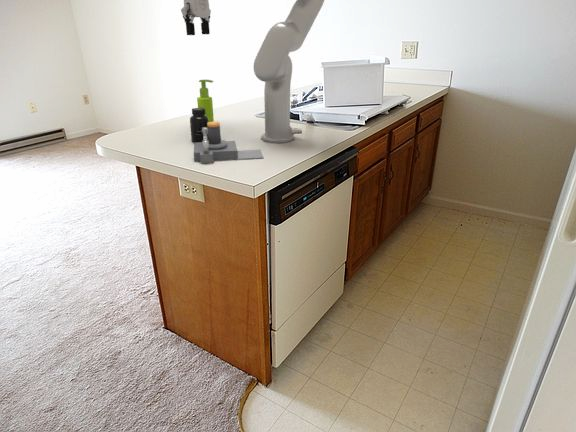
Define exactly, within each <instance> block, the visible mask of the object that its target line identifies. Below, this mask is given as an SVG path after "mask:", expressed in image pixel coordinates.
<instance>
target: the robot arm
mask: <svg viewBox="0 0 576 432" xmlns="http://www.w3.org/2000/svg"><path fill="white" fill-rule="evenodd" d="M324 2H325V0H296V1H295V2H294V4H293V5H292V7H291V9H290V12H289V14H288V15H287V17H286V19H285V20H284V21H280V22H277V23H275V24H273V26H271V27H270V29H269V30H268V32H267V33H266V35H265V37H264V40H263V41H262V44H261V46H260V48H259V49H258V52H257V54H256V56H255V58H254V62H253V72H254V76H255V77H256V78H257V79H258V80H260V81H261V82H264V90H263V91H264V98H263V99H264V100H263V101H264V102H263V103H264V133H262V134H261V136H260V140H262V141H263V142H266V143H273V144H277V143H279V144H280V143H281V144H282V143H288V142H292V141H293V140H294V137H295V134H296V135H300V134H301V135H302V134H303V128H298V127H294V128H293V127H291V83H292V76H293V75H292V74H293V62H292V59H291V56H290V53H293V52H296V51H298V50H299V49H301V47H303V44H304V42H305V40H306V39H307V36H308V34H309V32H310V30H311V29H312V27H313V25H314V23H315V21H316V19H317V17H318V15H319V13H320V11H321V9H322V8H323V5H324ZM180 11H181V14H182V19H184V23H185V28H186V29H185V30H186V35H187V36H195V35H196V30H195V23H194V21H195V18H199V19H200V20H201V22H200V26H201V27H200V28H201V35H210V22H211V21H210V18H211V12H212V10H211V9H210V2H209V0H183V7H182V8H181V9H180Z"/></svg>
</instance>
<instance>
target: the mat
mask: <svg viewBox="0 0 576 432" xmlns="http://www.w3.org/2000/svg"><path fill="white" fill-rule="evenodd" d="M237 152H238V158H236V160H235V161H243V160H260V159H261V160H262V159H264V155H263V153H262V151H261V149H246V150H237Z"/></svg>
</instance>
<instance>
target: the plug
mask: <svg viewBox="0 0 576 432" xmlns="http://www.w3.org/2000/svg"><path fill="white" fill-rule="evenodd" d="M220 125H221V123H220V122H219V121H215V120H214V121H213V122H208V123H207V126H208V138H209V140H208V144H209V149H221V148H225V147H226V146H227V142H226V140H223V139H222V137H221V126H220Z"/></svg>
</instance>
